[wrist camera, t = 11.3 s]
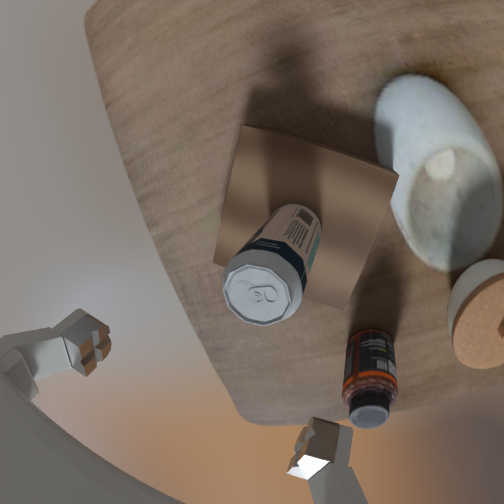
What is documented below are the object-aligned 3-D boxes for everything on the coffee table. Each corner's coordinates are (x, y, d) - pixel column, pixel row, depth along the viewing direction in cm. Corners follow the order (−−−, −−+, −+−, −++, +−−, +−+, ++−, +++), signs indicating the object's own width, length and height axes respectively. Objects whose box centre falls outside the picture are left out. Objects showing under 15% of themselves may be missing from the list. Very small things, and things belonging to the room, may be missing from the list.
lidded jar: (525, 289, 25) (558, 334, 16) (461, 341, 30) (479, 395, 22) (491, 223, 24) (532, 260, 16) (420, 286, 29) (437, 339, 21)
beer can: (264, 207, 27) (205, 262, 17) (316, 198, 26) (289, 251, 15) (276, 256, 29) (229, 332, 18) (326, 250, 27) (306, 330, 17)
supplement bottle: (350, 365, 36) (341, 436, 26) (343, 330, 34) (333, 402, 24) (395, 359, 34) (398, 431, 24) (392, 322, 32) (398, 395, 22)
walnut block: (255, 125, 28) (242, 125, 25) (392, 169, 26) (399, 175, 23) (227, 248, 35) (213, 262, 31) (345, 290, 32) (343, 310, 29)
